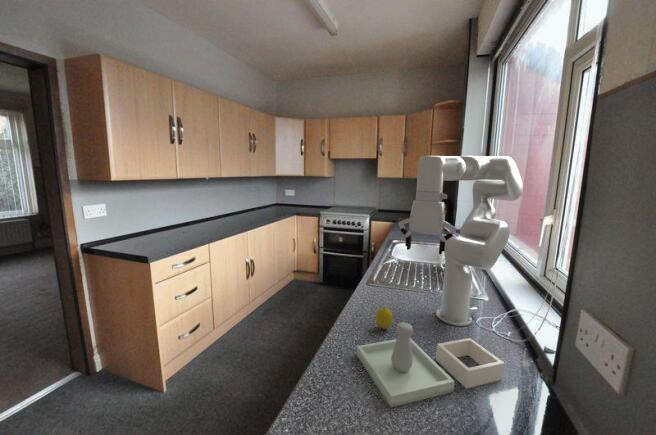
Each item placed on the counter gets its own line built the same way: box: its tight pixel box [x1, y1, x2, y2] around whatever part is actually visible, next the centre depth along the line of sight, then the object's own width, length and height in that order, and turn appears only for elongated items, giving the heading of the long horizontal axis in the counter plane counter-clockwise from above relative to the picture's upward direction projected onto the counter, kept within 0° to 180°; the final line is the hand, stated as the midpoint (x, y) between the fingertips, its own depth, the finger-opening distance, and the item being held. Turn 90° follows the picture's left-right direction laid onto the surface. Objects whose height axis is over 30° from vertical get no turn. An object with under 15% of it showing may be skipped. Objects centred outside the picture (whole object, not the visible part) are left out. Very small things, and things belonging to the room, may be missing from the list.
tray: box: [356, 338, 456, 408], centre depth 79 cm, size 18×20×3 cm
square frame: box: [435, 337, 505, 389], centre depth 81 cm, size 12×12×5 cm
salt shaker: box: [391, 321, 414, 373], centre depth 78 cm, size 6×6×13 cm
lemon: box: [375, 307, 393, 330], centre depth 100 cm, size 6×6×8 cm
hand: (424, 251), depth 91 cm, fingers open, 9 cm apart
